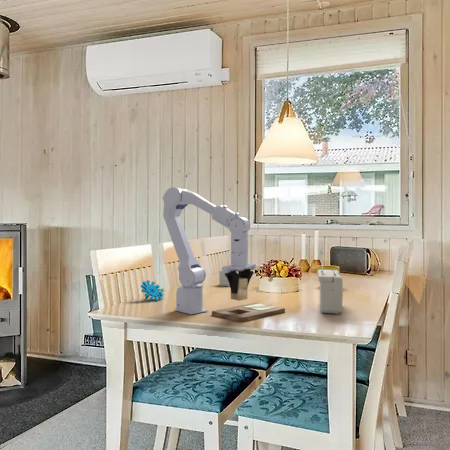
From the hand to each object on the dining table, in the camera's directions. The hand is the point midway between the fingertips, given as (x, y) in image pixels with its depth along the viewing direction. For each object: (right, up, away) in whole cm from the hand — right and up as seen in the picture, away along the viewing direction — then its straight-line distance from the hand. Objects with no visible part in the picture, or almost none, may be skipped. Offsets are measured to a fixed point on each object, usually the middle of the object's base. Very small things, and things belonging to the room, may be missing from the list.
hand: (239, 292), depth 165 cm
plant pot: (+43, -6, +62) cm, 76 cm away
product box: (-3, -6, +67) cm, 67 cm away
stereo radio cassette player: (+33, -8, +13) cm, 37 cm away
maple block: (0, -2, 0) cm, 2 cm away
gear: (-33, -7, +29) cm, 44 cm away
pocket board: (+4, -8, +4) cm, 9 cm away
